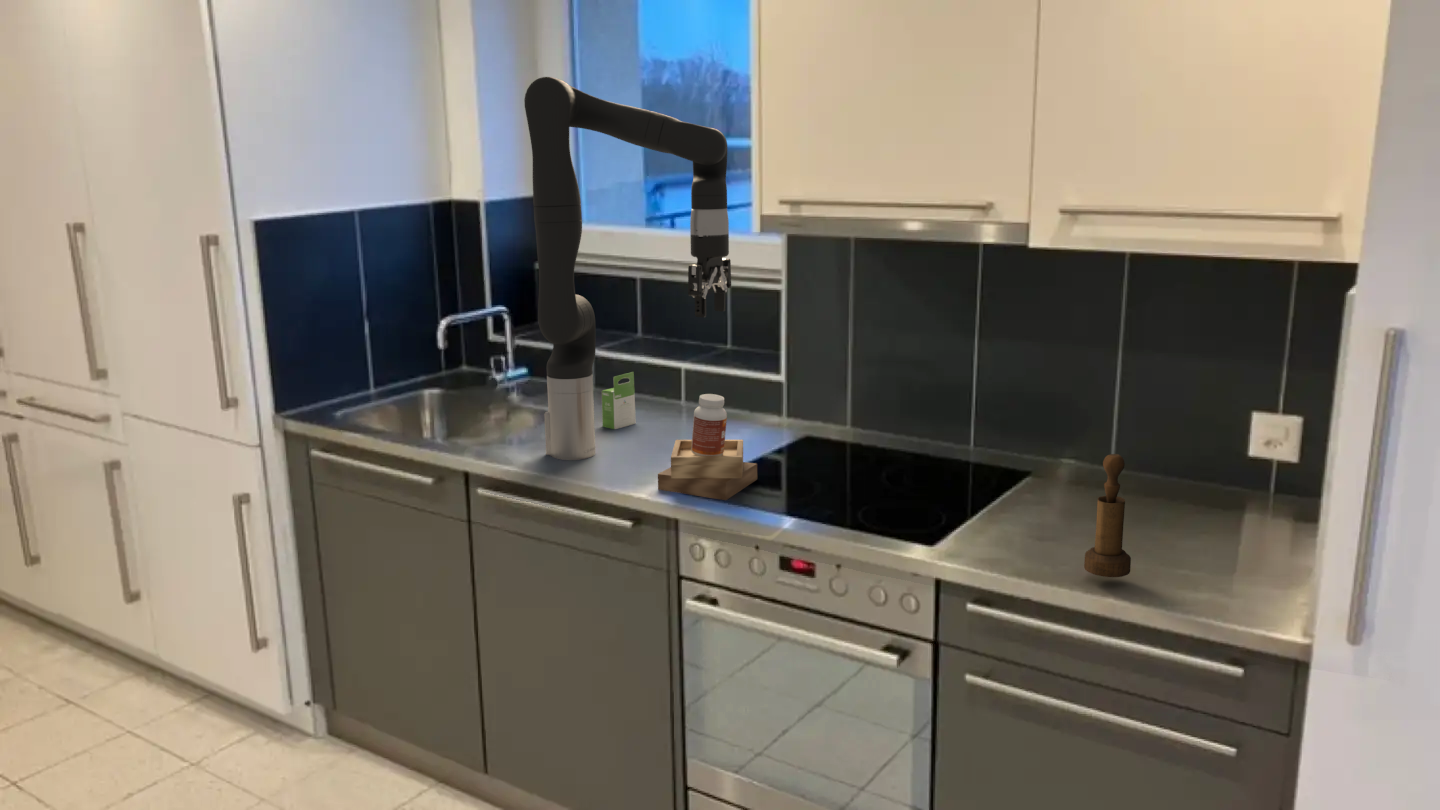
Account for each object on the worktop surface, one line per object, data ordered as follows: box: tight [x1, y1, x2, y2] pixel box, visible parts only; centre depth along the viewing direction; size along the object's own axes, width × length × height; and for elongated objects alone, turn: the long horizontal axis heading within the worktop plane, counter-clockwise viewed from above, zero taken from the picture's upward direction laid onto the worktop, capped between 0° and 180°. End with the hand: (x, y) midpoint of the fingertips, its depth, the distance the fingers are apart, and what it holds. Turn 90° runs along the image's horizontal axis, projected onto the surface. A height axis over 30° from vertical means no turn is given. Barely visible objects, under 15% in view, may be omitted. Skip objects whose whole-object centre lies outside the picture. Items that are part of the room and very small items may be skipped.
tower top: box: [670, 439, 744, 478], centre depth 225 cm, size 13×13×4 cm
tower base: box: [657, 461, 758, 501], centre depth 226 cm, size 14×14×4 cm
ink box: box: [601, 371, 637, 430], centre depth 266 cm, size 7×4×13 cm, turn 141°
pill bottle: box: [691, 393, 728, 456], centre depth 223 cm, size 6×6×11 cm
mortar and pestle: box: [1083, 453, 1132, 578], centre depth 178 cm, size 7×6×18 cm
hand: (710, 314), depth 238 cm, fingers open, 8 cm apart
